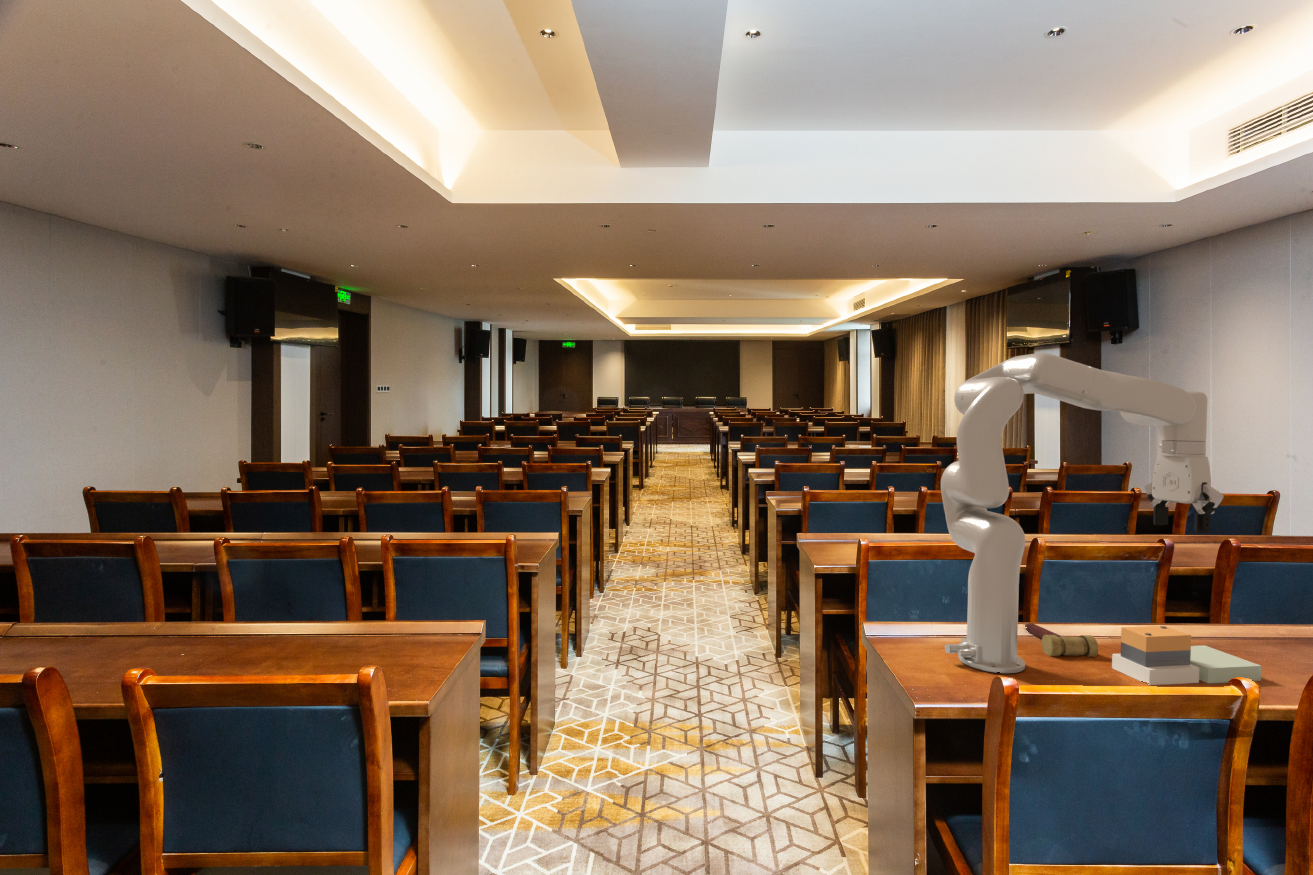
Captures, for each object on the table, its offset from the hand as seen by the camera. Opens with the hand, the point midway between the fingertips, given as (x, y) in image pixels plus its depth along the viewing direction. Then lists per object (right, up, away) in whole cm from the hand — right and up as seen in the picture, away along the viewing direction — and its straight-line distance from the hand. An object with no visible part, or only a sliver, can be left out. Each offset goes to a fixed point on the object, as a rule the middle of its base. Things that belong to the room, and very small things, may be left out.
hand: (1180, 528), depth 146 cm
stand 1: (-12, -28, -9) cm, 32 cm away
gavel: (-22, -28, +11) cm, 38 cm away
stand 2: (+1, -29, -6) cm, 29 cm away
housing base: (-12, -25, -9) cm, 30 cm away
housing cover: (-12, -22, -9) cm, 27 cm away
